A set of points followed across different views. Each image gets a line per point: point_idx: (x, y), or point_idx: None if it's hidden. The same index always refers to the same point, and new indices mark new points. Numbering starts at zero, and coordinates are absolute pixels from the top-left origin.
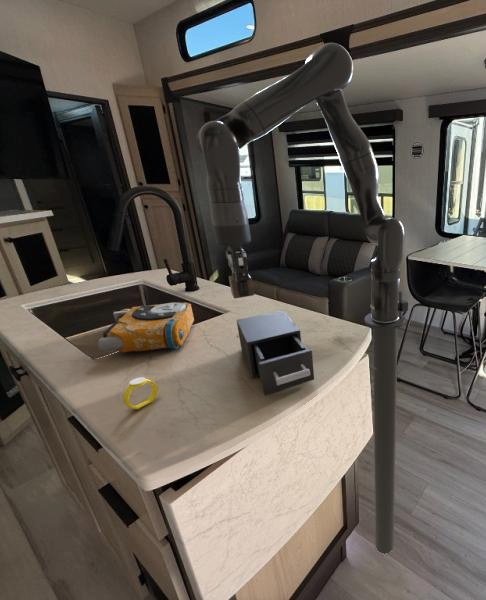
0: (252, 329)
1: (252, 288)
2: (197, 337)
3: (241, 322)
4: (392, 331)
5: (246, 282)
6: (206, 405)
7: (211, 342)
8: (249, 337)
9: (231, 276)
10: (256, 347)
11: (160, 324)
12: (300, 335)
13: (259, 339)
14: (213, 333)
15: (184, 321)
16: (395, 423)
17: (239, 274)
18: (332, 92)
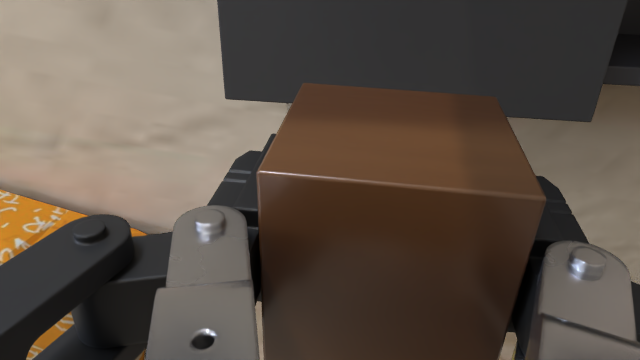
0: (433, 54)
1: (509, 132)
2: (65, 170)
3: (283, 84)
4: None
5: (556, 241)
6: (583, 218)
7: (132, 135)
8: (533, 96)
9: (305, 350)
10: (629, 77)
11: (69, 324)
12: None
13: (608, 55)
14: (44, 114)
15: (12, 238)
16: None
17: (255, 267)
18: None
